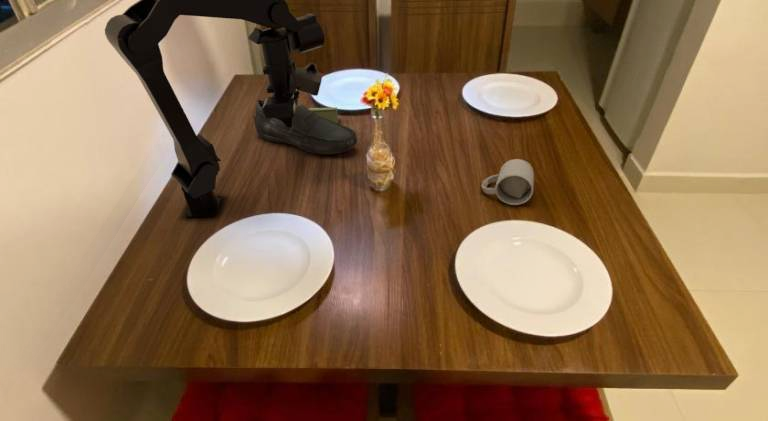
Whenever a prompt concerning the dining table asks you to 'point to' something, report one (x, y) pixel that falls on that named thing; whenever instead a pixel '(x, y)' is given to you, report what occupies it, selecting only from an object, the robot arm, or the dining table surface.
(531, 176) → the ceramic mug
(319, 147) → the loafer
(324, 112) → the rail
